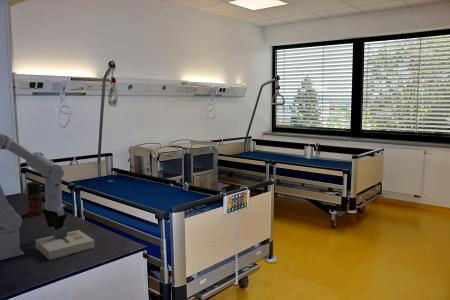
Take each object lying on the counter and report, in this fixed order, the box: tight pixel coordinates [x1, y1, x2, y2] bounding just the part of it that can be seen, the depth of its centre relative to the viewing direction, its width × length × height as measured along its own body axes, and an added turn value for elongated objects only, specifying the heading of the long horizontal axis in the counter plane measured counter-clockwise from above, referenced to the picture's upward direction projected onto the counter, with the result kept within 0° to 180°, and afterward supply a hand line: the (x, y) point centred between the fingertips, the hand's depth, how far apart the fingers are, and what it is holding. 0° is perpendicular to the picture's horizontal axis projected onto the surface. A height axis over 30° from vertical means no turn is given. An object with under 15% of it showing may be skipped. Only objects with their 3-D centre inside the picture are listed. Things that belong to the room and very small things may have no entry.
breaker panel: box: [35, 229, 95, 261], centre depth 138 cm, size 16×14×3 cm
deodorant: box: [26, 181, 43, 217], centre depth 176 cm, size 6×6×15 cm
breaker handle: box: [53, 226, 68, 239], centre depth 141 cm, size 4×2×3 cm, turn 134°
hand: (54, 229), depth 145 cm, fingers open, 7 cm apart
